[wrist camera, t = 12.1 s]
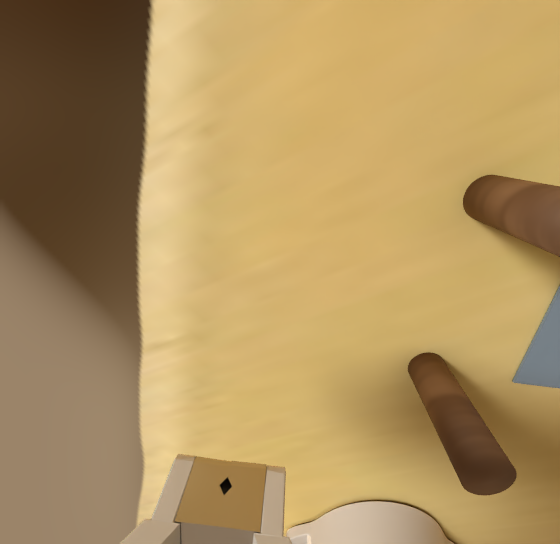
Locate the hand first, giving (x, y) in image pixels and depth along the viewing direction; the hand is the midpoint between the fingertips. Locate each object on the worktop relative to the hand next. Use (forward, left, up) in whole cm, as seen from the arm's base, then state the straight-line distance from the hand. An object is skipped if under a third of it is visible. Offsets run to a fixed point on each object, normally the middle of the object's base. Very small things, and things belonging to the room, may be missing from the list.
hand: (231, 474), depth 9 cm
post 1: (-7, -13, -15) cm, 21 cm away
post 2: (+7, -13, -15) cm, 21 cm away
